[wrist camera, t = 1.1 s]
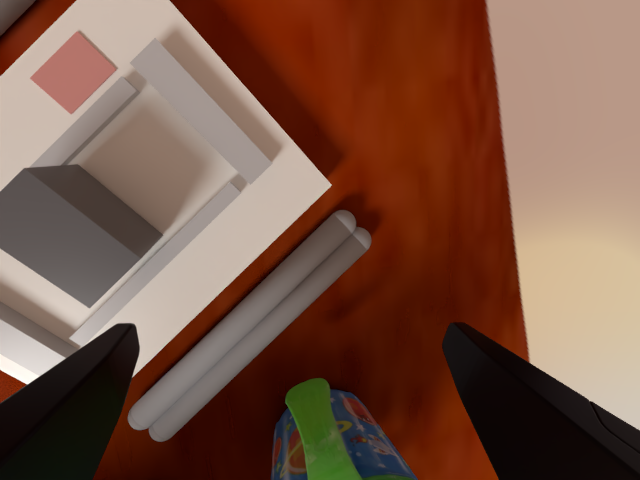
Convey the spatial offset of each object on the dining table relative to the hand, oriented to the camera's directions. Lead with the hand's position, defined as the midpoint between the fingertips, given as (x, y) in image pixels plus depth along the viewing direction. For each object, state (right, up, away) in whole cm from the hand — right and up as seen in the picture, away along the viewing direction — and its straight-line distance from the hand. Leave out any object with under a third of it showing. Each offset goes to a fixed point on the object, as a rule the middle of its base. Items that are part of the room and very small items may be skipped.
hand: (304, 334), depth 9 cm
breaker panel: (-11, +4, +9) cm, 15 cm away
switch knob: (-11, +4, +7) cm, 13 cm away
